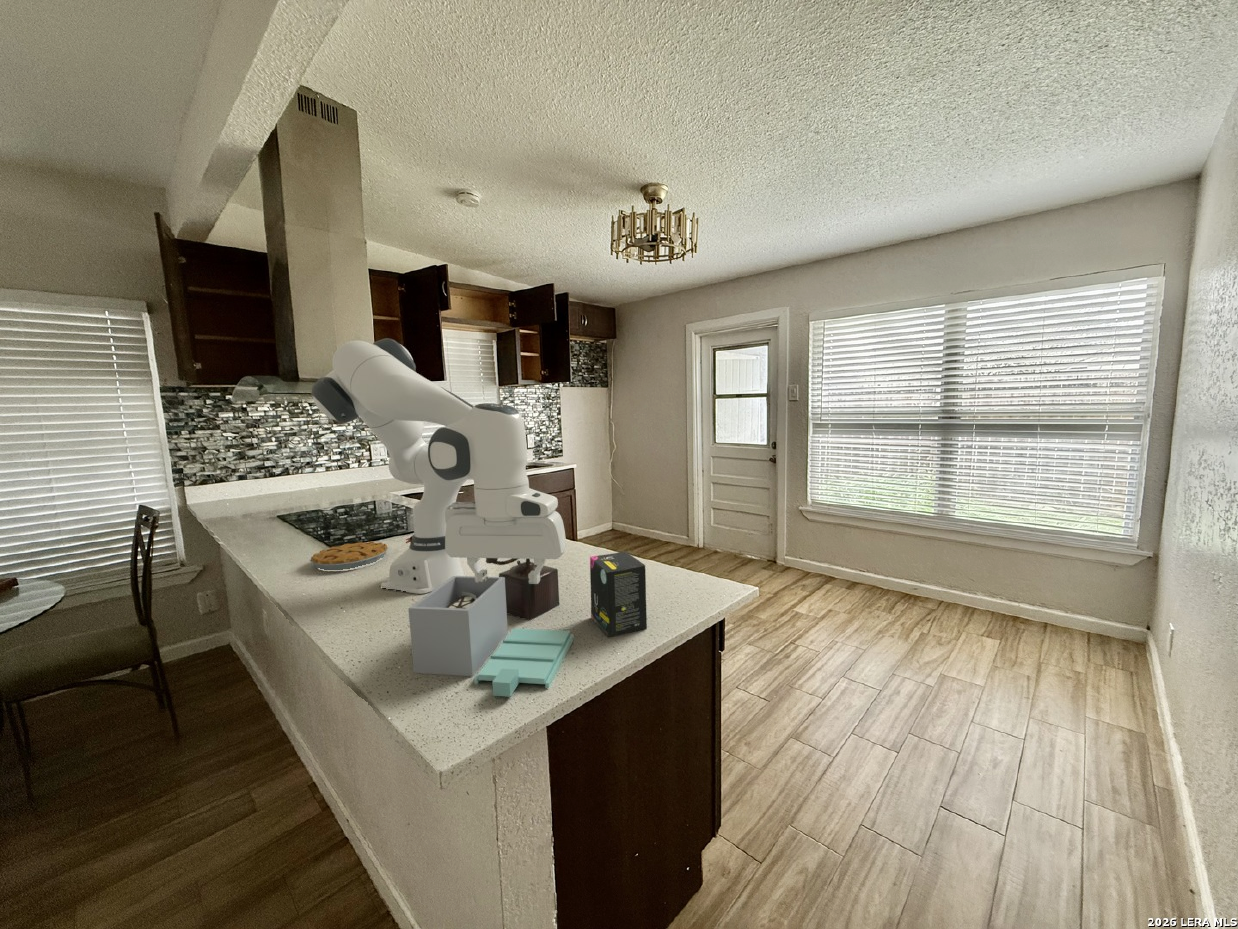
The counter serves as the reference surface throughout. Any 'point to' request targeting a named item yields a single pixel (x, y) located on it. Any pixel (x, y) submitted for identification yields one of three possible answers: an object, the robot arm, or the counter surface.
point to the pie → (349, 555)
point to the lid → (525, 659)
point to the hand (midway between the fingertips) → (507, 582)
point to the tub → (458, 626)
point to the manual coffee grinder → (528, 589)
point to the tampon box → (618, 593)
